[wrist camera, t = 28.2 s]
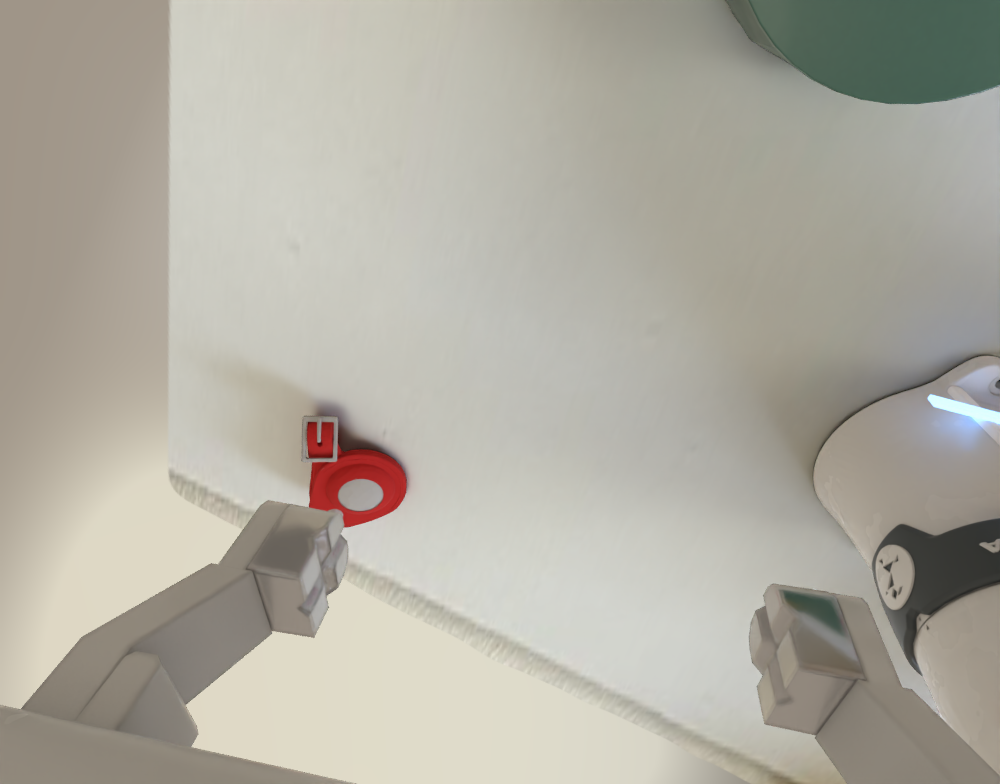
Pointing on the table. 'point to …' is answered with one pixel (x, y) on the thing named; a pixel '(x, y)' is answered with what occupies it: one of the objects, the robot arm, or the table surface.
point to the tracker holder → (349, 475)
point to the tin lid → (888, 45)
